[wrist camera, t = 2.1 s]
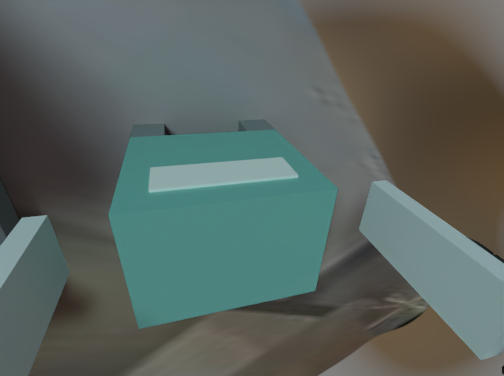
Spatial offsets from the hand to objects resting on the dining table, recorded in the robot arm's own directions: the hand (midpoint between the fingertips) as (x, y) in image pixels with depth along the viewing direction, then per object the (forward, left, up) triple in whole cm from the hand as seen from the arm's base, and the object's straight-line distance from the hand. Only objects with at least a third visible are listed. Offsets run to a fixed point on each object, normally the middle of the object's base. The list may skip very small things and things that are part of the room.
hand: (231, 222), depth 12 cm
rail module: (0, 0, -6) cm, 6 cm away
